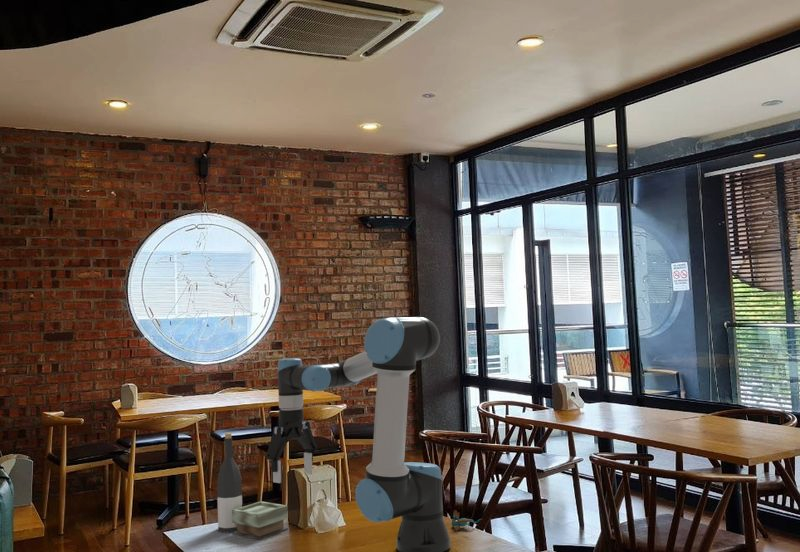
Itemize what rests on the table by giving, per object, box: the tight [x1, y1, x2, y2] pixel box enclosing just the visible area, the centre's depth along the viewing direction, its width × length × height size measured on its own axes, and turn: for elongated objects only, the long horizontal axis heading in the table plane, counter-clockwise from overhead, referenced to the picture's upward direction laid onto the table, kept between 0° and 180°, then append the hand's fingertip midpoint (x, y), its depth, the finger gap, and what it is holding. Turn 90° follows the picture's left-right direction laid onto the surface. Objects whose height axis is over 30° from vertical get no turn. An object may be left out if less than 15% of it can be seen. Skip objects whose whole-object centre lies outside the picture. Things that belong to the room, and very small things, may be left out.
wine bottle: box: [216, 432, 243, 533], centre depth 233 cm, size 8×8×30 cm
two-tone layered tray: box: [231, 501, 289, 541], centre depth 228 cm, size 12×12×7 cm
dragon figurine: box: [450, 509, 483, 532], centre depth 224 cm, size 6×7×8 cm
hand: (293, 478), depth 227 cm, fingers open, 13 cm apart
